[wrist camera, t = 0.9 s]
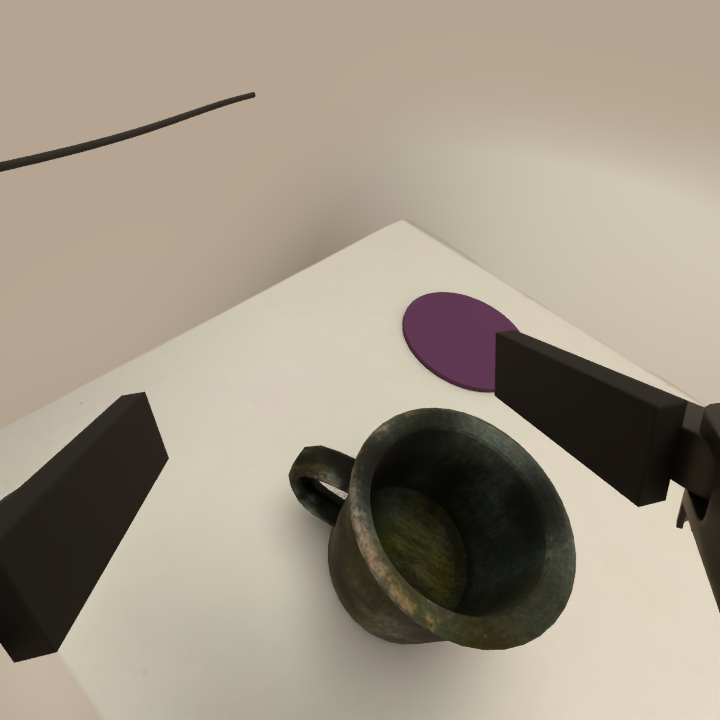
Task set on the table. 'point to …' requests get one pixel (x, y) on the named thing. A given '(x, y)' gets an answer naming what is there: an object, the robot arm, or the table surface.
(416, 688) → the table surface
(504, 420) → the table surface
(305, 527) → the table surface
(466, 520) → the mug
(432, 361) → the place mat
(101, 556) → the robot arm
